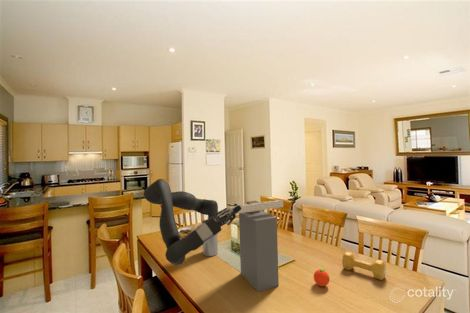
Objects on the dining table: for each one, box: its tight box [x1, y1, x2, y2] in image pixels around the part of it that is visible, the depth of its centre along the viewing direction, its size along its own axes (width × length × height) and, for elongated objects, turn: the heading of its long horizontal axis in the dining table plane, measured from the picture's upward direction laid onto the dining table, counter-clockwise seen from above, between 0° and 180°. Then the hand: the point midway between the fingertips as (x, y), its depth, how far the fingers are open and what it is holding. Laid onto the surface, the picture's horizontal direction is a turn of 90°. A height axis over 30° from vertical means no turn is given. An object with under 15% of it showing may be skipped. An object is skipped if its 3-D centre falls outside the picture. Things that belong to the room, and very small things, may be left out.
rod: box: [227, 199, 284, 215], centre depth 115 cm, size 3×28×3 cm, turn 114°
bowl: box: [177, 225, 199, 239], centre depth 177 cm, size 30×30×8 cm
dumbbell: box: [341, 251, 387, 281], centre depth 121 cm, size 19×9×8 cm, turn 45°
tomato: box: [313, 268, 330, 287], centre depth 112 cm, size 8×7×7 cm
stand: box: [238, 210, 280, 293], centre depth 118 cm, size 18×11×32 cm, turn 23°
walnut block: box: [246, 200, 260, 213], centre depth 123 cm, size 5×5×5 cm
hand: (238, 206), depth 111 cm, fingers closed on rod, 3 cm apart
